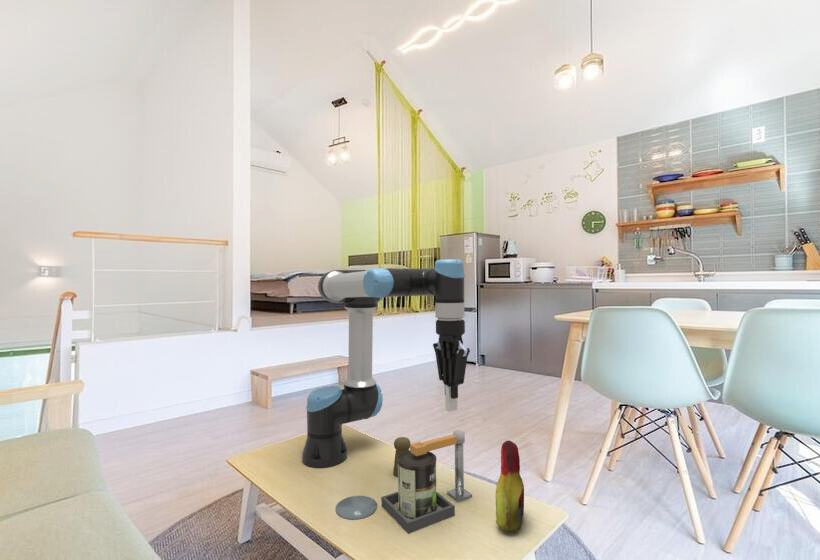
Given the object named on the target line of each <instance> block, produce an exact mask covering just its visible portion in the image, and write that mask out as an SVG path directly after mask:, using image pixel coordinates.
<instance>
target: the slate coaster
mask: <svg viewBox="0 0 820 560" xmlns="http://www.w3.org/2000/svg"><path fill="white" fill-rule="evenodd" d="M377 508H378V503H377V501H376V500H375V499H374V498H372V497H370V496H367V495H352V496H348V497H346V498H343V499H341V500H340V501H339V502H337V504H336V505H335V512H336V513H335V514H336V515H337V516H338V517H340V518H342V519H346V520H351V521H352V520H353V521H354V520H362V519H365V518H368V517H369V516H372V515H373V514H375V512H376V511H377Z"/></svg>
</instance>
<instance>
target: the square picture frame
mask: <svg viewBox="0 0 820 560" xmlns="http://www.w3.org/2000/svg"><path fill="white" fill-rule="evenodd" d="M394 504H399V503H398V491H395V492H392V493H390V494H386V495H383V496H381V507H382V508H383V509H384V511H386V512H387V514H389V515H390V517H391V518H393V520H394V521H395V522H396V523H397V524H398V525H399V526H400V527H401V528H402V529H403V530H404V531H405V532H406V534H408V535H409V534H410V533H413V532H416V531H420V530H421V529H424V528H426V527H429V526H432V525H435V524H437V523H440V522H442V521H444V520H447V519H450V518H452V517H455V516H456V512H455V511H456V508H455V507H456V506H455V504H453V503H452V502H451V501H449V500H448V499H446V498H445V497H444V496H443V495H441V493H439V492H438V491H436V504H437V506H439V507H440V509H437V510H436V511H434V512H431V513H428V514H426V515H423V516H420V517H417V518H415V519H412V520H408V519H407V518H406V517H405V516H404V515H403V514H402V513H401V512H400V511H399V510H398V509H399V508H397V506H395V505H394Z"/></svg>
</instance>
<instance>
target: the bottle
mask: <svg viewBox="0 0 820 560" xmlns="http://www.w3.org/2000/svg"><path fill="white" fill-rule="evenodd" d="M520 462H521V461H520V453H519V447H518V445H517V444H516V443H515V442H513V441H512V440H505V441H504V442H503V443H502V444H501V450H500V475H499V478H498V480H497V483H496V487H495V523H496V525H497V526H498V527H499V528H500V529H502V530H503V531H505V532H507V531H508V532H517V531H518V530H520V528H521V526H522V522H523V519H524V512H525V511H524V509H525V486H524V481H523V478H522V477H521V474H520V471H521V465H520V464H521V463H520Z"/></svg>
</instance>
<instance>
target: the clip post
mask: <svg viewBox="0 0 820 560" xmlns="http://www.w3.org/2000/svg"><path fill="white" fill-rule="evenodd" d="M464 465H465V464H464V443H462V444H454V481H455V483H454V484H455V485H454V486H455V487H454V488H453V489H451V490H447V491H446V495H448V496H449V497H450V498H452V500H454V501H456V502H457V503H460V502H463V501H465V500H468V499H471V498H473V494H472V493H471V492H470V491H468V490H467V489H465V486H464V485H465V484H464V483H465V477H464V475H465V474H464V473H465V471H464V470H465V467H464Z"/></svg>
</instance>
